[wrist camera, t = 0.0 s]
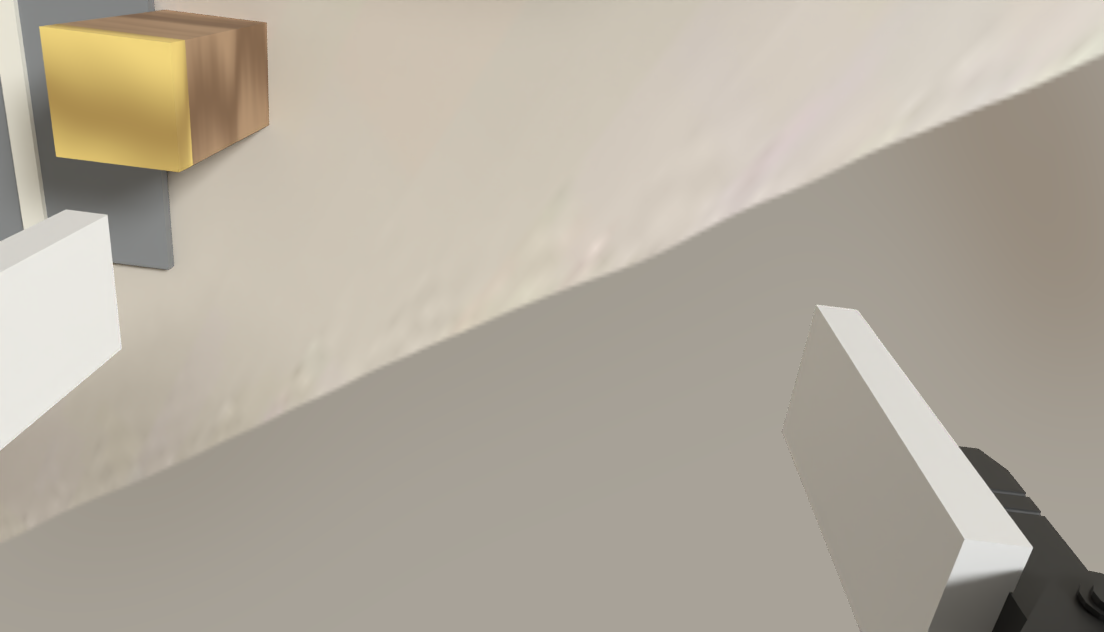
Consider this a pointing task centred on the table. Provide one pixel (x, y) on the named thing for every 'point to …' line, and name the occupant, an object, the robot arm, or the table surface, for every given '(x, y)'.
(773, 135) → the table surface
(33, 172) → the mat
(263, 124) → the block
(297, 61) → the table surface
